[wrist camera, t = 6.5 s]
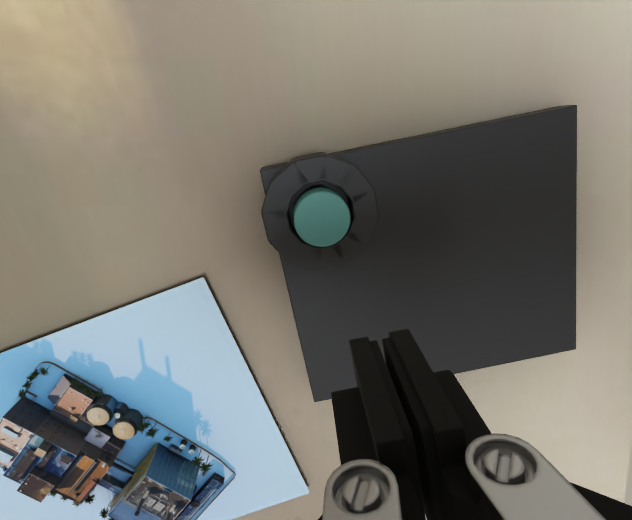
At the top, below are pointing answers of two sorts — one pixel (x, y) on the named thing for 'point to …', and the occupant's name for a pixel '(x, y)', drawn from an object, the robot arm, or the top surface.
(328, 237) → the button
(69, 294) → the top surface
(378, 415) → the robot arm
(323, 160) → the scale
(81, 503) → the printed photo tile
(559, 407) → the top surface
